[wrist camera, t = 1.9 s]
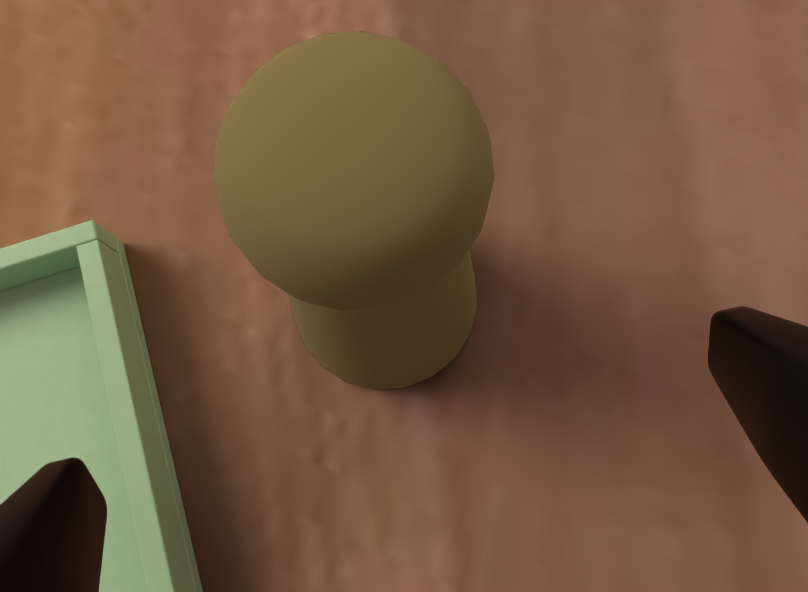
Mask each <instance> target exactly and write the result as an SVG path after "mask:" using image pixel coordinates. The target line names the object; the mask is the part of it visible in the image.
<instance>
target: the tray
mask: <svg viewBox="0 0 808 592" xmlns="http://www.w3.org/2000/svg"><path fill="white" fill-rule="evenodd" d="M72 457H75V458H79V459H81V460H82V461H83V462H84V464H85V465H86V467H87V468H88V470H89V472H90V473H91V475H92V477H93V478H94V480H95V482H96V483H97V485H98V487H99V489H100V490H101V492H102V494H103V495H104V498H105V500H106V504H107V521H106V531H105V540H104V549H103V558H102V567H101V576H100V585H99V592H203V590H202V586H201V581H200V577H199V573H198V568H197V564H196V559H195V555H194V551H193V546H192V542H191V537H190V533H189V529H188V524H187V520H186V516H185V511H184V507H183V502H182V498H181V494H180V489H179V485H178V481H177V476H176V472H175V467H174V463H173V459H172V454H171V450H170V446H169V441H168V437H167V432H166V428H165V424H164V419H163V415H162V410H161V406H160V402H159V397H158V393H157V389H156V384H155V380H154V375H153V371H152V367H151V362H150V358H149V354H148V349H147V345H146V340H145V336H144V332H143V327H142V323H141V318H140V314H139V310H138V305H137V301H136V297H135V292H134V288H133V283H132V279H131V275H130V270H129V266H128V262H127V257H126V253H125V248H124V244H123V242H122V241H121V240H120V239H118V238H117V237H115V236H114V235H113V234H111V233H110V232H109V231H107V230H106V229H105V228H103V227H102V226H101V225H99V224H98V223H97V222H95V221H94V220H91V221H88V222H84V223H81V224H78V225H75V226H72V227H68V228H65V229H62V230H59V231H56V232H52V233H49V234H46V235H43V236H40V237H37V238H33V239H30V240H27V241H24V242H21V243H17V244H14V245H11V246H8V247H5V248H1V249H0V504H2V503H3V502H4V501H5V500H6V499H7V498H8V497H9V496H10V495H12V494H13V493H14V492H15V491H16V490H17V489H18V488H19V487H21V486H22V485H23V484H24V483H25V482H26V481H27V480H28V479H29V478H31V477H32V476H33V475H34V474H35V473H36V472H37V471H38V470H39V469H41V468H42V467H43V466H44V465H46V464H47V463H50V462H54V461H58V460H63V459H67V458H72Z"/></svg>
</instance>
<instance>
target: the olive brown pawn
mask: <svg viewBox="0 0 808 592" xmlns="http://www.w3.org/2000/svg"><path fill="white" fill-rule="evenodd" d="M493 182H494V171H493V161H492V151H491V142H490V137H489V134H488V130H487V127H486V125H485V123H484V120H483V118H482V116H481V114H480V112H479V110H478V108H477V106H476V104H475V101H474V99H473V97H472V95H471V93H470V91H469V89H468V88H467V87H466V86H465V85H464V84H463V83H462V82H461V81H460V80H459V79H458V78H457V77H456V76H455V75H454V74H453V73H452V72H451V71H450V70H449V69H448V68H447V67H446V66H445V65H444V64H443V63H442V62H441V61H439V60H437V59H436V58H434V57H432V56H430V55H428V54H426V53H425V52H423V51H421V50H419V49H417V48H415V47H413V46H412V45H410V44H408V43H406V42H404V41H402V40H400V39H397V38H393V37H388V36H383V35H378V34H373V33H368V32H364V31H359V32H345V33H331V34H323V35H320V36H317V37H314V38H312V39H309V40H306V41H303V42H300V43H298V44H295V45H292V46H289V47H287V48H286V49H285V50H283V51H282V52H280V53H279V54H277V55H276V56H275V57H273V58H272V59H270V60H269V61H268V62H266V63H265V64H263V65H262V66H261V67H259V68H258V69H257V70H256V71H255V73H254V74H253V75H252V76H251V78H250V79H249V80H248V82H247V83H246V84H245V85H244V87H243V88H242V89H241V91H240V92H239V93H238V94H237V96H236V97H235V98H234V100H233V101H232V103H231V104H230V105H229V107H228V110H227V112H226V115H225V118H224V121H223V123H222V126H221V129H220V132H219V134H218V137H217V140H216V143H215V167H214V186H215V192H216V198H217V201H218V204H219V207H220V210H221V213H222V216H223V218H224V221H225V224H226V227H227V230H228V233H229V236H230V237H231V239H232V240H233V241H234V242H235V244H236V245H237V246H238V247H239V249H240V250H241V251H242V253H243V254H244V255H245V256H246V258H247V259H248V260H249V261H250V263H251V264H252V265H253V266H254V268H255V269H256V270H257V271H258V272H259V273H260V274H261V275H262V276H263V277H264V278H265V279H266V280H268V281H270V282H271V283H273V284H274V285H276V286H278V287H279V288H281V289H282V290H284V291H285V292H287V293H288V296H289V300H290V303H291V307H292V311H293V315H294V318H295V321H296V324H297V326H298V329H299V332H300V335H301V338H302V340H303V343H304V345H305V346H306V347H307V348H308V350H309V351H310V352H311V354H312V355H313V356H314V357H315V359H316V360H317V361H318V362H319V364H320V365H321V366H322V367H324V368H325V369H327V370H328V371H330V372H331V373H333V374H334V375H336V376H337V377H339V378H341V379H342V380H344V381H345V382H348V383H352V384H356V385H359V386H363V387H367V388H371V389H391V388H405V387H408V386H410V385H413V384H415V383H418V382H420V381H423V380H425V379H428V378H430V377H433V376H434V375H435V374H436V373H438V372H439V371H440V370H441V369H442V368H444V367H445V366H446V365H447V364H448V363H450V362H451V361H452V360H453V359H454V358H456V356H457V354H458V353H459V351H460V350H461V348H462V346H463V345H464V343H465V342H466V340H467V338H468V337H469V335H470V334H471V331H472V327H473V322H474V318H475V314H476V310H477V306H478V304H477V292H476V281H475V274H474V269H473V265H472V260H471V255H470V250H469V249H470V247H471V246H472V244H473V242H474V241H475V239H476V238H477V236H478V235H479V233H480V232H481V229H482V226H483V222H484V219H485V215H486V211H487V207H488V202H489V198H490V194H491V190H492V186H493Z"/></svg>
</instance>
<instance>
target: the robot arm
mask: <svg viewBox="0 0 808 592" xmlns="http://www.w3.org/2000/svg"><path fill="white" fill-rule="evenodd" d="M708 365H709V369H710V372H711V374H712V376H713V378H714V380H715V381H716V383H717V385H718V387H719V388H720V390H721V392H722V393H723V395H724V397H725V399H726V400H727V402H728V404H729V405H730V407H731V409H732V410H733V412H734V414H735V416H736V417H737V419H738V421H739V422H740V424H741V426H742V428H743V429H744V431H745V433H746V434H747V436H748V438H749V440H750V441H751V443H752V445H753V446H754V448H755V450H756V451H757V453H758V455H759V456H760V458H761V459H762V461H763V463H764V464H765V466H766V467H767V468H768V470H769V471H770V473H771V474H772V475H773V477H774V478H775V480H776V481H777V482H778V484H779V485H780V486H781V488H782V489H783V490H784V492H785V493H786V494H787V496H788V497H789V498H790V500H791V501H792V502H793V504H794V505H795V507H796V508H797V509H798V511H799V512H800V513H801V515H802V516H803V517H804V519H805V520H806V521H807V523H808V327H807V326H804V325H801V324H798V323H795V322H792V321H789V320H786V319H783V318H779V317H776V316H773V315H770V314H767V313H764V312H761V311H758V310H755V309H752V308H748V307H745V306H740V307H735V308H730V309H726V310H722V311H718V312H716V313H715V314H714V315H713V316H712V318H711V323H710V336H709V349H708ZM106 521H107V504H106V500H105V498H104V495H103V494H102V492H101V490H100V489H99V487H98V485H97V483H96V482H95V480H94V478H93V477H92V475H91V473H90V472H89V470H88V468H87V467H86V465H85V464H84V462H83V461H82V460H81V459H79V458H75V457H72V458H67V459H63V460H58V461H54V462H50V463H47V464H46V465H44V466H43V467H42V468H41V469H39V470H38V471H37V472H36V473H35V474H34V475H33V476H32V477H31V478H29V479H28V480H27V481H26V482H25V483H24V484H23V485H22V486H21V487H19V488H18V489H17V490H16V491H15V492H14V493H13V494H12V495H10V496H9V497H8V498H7V499H6V500H5V501H4V502H3V503H2V504H0V592H99V585H100V576H101V567H102V558H103V549H104V540H105V531H106Z"/></svg>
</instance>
